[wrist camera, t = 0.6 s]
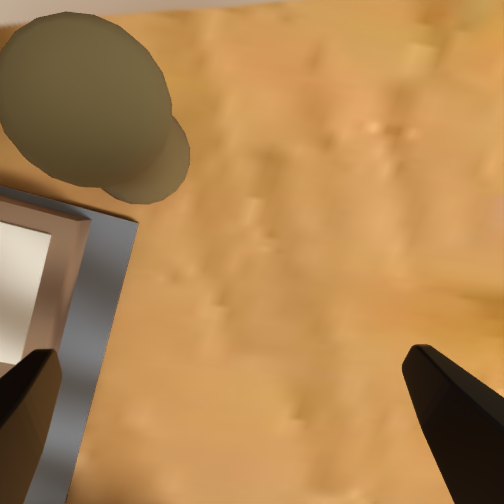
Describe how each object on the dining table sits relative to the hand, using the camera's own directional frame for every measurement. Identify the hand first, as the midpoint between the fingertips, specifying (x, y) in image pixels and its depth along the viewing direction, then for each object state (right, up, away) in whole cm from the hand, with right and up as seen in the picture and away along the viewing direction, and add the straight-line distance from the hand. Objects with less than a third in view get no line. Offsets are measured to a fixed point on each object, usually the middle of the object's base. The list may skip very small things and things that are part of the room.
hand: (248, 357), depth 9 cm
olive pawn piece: (-7, +9, +12) cm, 16 cm away
